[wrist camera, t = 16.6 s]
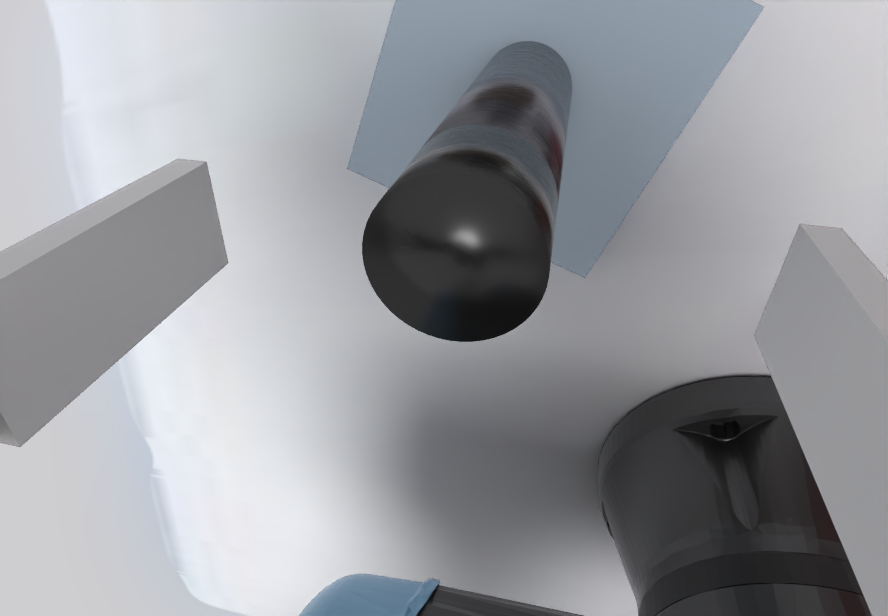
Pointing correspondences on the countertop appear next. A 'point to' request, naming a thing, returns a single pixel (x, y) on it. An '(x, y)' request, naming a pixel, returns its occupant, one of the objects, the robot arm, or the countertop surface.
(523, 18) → the mat
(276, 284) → the countertop surface
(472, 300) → the cylinder
